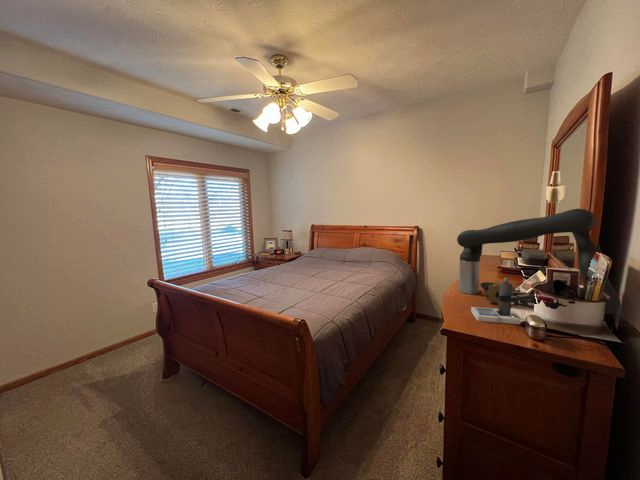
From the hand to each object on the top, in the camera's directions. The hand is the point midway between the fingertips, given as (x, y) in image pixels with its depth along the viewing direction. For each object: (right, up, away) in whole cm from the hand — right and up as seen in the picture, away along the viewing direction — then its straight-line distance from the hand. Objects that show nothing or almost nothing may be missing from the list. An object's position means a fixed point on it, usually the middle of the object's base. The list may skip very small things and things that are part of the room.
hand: (497, 296), depth 107 cm
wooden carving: (+13, -7, +16) cm, 21 cm away
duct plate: (0, -9, +1) cm, 9 cm away
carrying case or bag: (+25, -5, +36) cm, 44 cm away
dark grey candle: (+3, -8, 0) cm, 8 cm away
